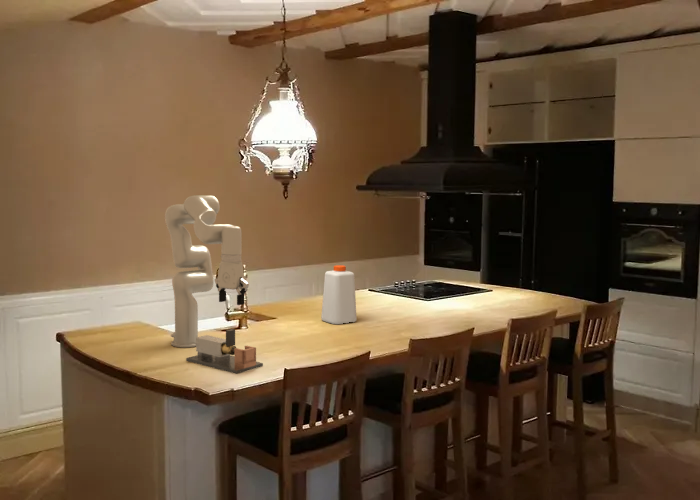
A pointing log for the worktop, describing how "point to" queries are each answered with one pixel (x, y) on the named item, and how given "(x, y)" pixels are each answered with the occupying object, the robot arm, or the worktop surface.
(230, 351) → the sliding bolt with handle
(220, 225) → the robot arm
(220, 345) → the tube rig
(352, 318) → the plastic bottle
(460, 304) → the worktop surface
